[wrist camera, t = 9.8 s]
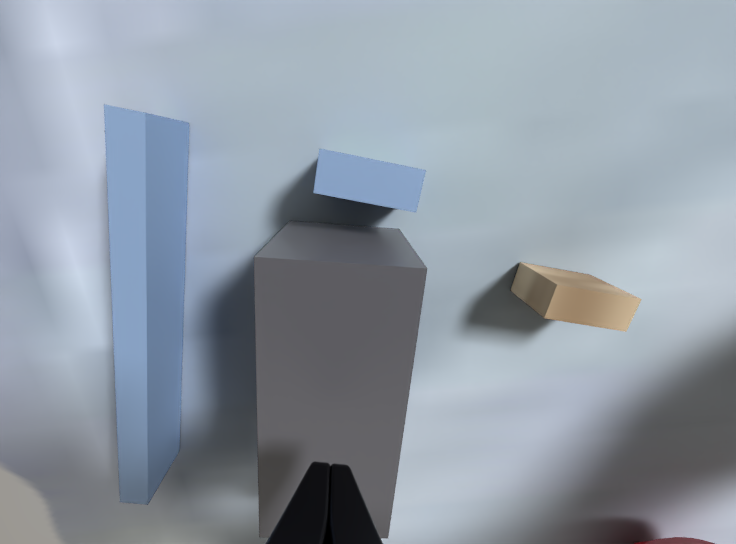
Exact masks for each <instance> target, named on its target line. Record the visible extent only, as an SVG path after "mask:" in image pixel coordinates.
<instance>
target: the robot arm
mask: <svg viewBox="0 0 736 544" xmlns="http://www.w3.org/2000/svg"><path fill="white" fill-rule="evenodd" d="M266 544H383V543H382V540H381V538H380V536H379V533H378V531H377V529H376V526H375V524H374V522H373V519H372V517H371V515H370V513H369V510H368V508H367V506H366V503H365V501H364V499H363V496H362V494H361V492H360V489H359V487H358V485H357V482H356V480H355V478H354V475H353V473H352V471H351V469H350V467H349V466H348V465H345V464H336V463H333V464H331V466H330V464H329V463H326V462H317V461H314V462H312V463H311V464H310V466H309V468H308V470H307V471H306V473H305V475H304V477H303V479H302V480H301V482H300V484H299V486H298V487H297V489H296V491H295V493H294V495H293V496H292V498H291V500H290V502H289V503H288V505H287V507H286V509H285V511H284V512H283V514H282V516H281V518H280V519H279V521H278V523H277V525H276V527H275V528H274V530H273V532H272V534H271V535H270V537H269V539H268V541H267V542H266Z"/></svg>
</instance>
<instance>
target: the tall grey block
mask: <svg viewBox="0 0 736 544" xmlns="http://www.w3.org/2000/svg"><path fill="white" fill-rule="evenodd" d="M426 273H427V267H426V266H425V265H424V263H423V262H422V260H421V259H420V258H419V256H418V255H417V253H416V252H415V251H414V249H413V248H412V246H411V245H410V244H409V242H408V241H407V239H406V238H405V236H404V235H403V234H402V232H401V231H400V229H394V228H380V227H367V226H354V225H341V224H327V223H314V222H301V221H289V222H288V223H287V224H286V225H285V226H284V227H283V228H282V229H281V230H280V231H279V232H278V233H277V234H276V235H275V236H274V237H273V238H272V239H271V240H270V241H269V242H268V243H267V244H266V245H265V246H264V247H263V248H262V249H261V250H260V251H259V252H258V253H257V254H256V255H255V256H254V285H255V336H256V386H257V437H258V487H259V537H270V535H271V534H272V532H273V530H274V528H275V527H276V525H277V523H278V521H279V519H280V518H281V516H282V514H283V512H284V511H285V509H286V507H287V505H288V503H289V502H290V500H291V498H292V496H293V495H294V493H295V491H296V489H297V487H298V486H299V484H300V482H301V480H302V479H303V477H304V475H305V473H306V471H307V470H308V468H309V466H310V464H311V463H312V462H314V461H317V462H326V463H329V464H330V466H331V464H333V463H336V464H345V465H348V466H349V467H350V469H351V471H352V473H353V475H354V478H355V480H356V482H357V485H358V487H359V489H360V492H361V494H362V496H363V499H364V501H365V503H366V506H367V508H368V510H369V513H370V515H371V517H372V519H373V522H374V524H375V526H376V529H377V531H378V533H379V536H380V538H388V534H389V527H390V521H391V514H392V507H393V500H394V493H395V486H396V479H397V473H398V466H399V459H400V452H401V445H402V438H403V431H404V424H405V418H406V411H407V404H408V397H409V390H410V383H411V376H412V369H413V363H414V356H415V349H416V342H417V335H418V328H419V321H420V314H421V308H422V301H423V294H424V287H425V280H426Z"/></svg>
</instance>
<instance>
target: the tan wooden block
mask: <svg viewBox="0 0 736 544" xmlns="http://www.w3.org/2000/svg"><path fill="white" fill-rule="evenodd" d="M510 291H511V292H513V293H514V294H515V295H516V296H518V297H519V298H520V299H521V300H523V301H524V302H525V303H526V304H527V305H529V306H530V307H531V308H532V309H534V310H535V311H536V312H537V313H538V314H540V315H541V316H542V317H543V318H546V319H552V320H558V321H564V322H570V323H577V324H583V325H589V326H595V327H601V328H607V329H613V330H620V331H627V329H628V327H629V325H630V323H631V320H632V318H633V316H634V314H635V312H636V310H637V308H638V306H639V304H640V301H641V299H640V298H638V297H636V296H633V295H631V294H629V293H627V292H625V291H623V290H621V289H619V288H617V287H615V286H613V285H610V284H608V283H606V282H604V281H602V280H600V279H598V278H596V277H594V276H592V275H588V274H583V273H577V272H572V271H566V270H560V269H555V268H549V267H544V266H538V265H533V264H527V263H522V262H520V264H519V267H518V270H517V273H516V275H515V278H514V281H513V284H512V287H511V290H510Z"/></svg>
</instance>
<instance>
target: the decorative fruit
mask: <svg viewBox="0 0 736 544" xmlns="http://www.w3.org/2000/svg"><path fill="white" fill-rule="evenodd" d="M634 544H715V543H711V542H707V541H704V540H700V539H694V538H684V537H674V538H664V539H655V540H651V541H645V542H636V543H634Z"/></svg>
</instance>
